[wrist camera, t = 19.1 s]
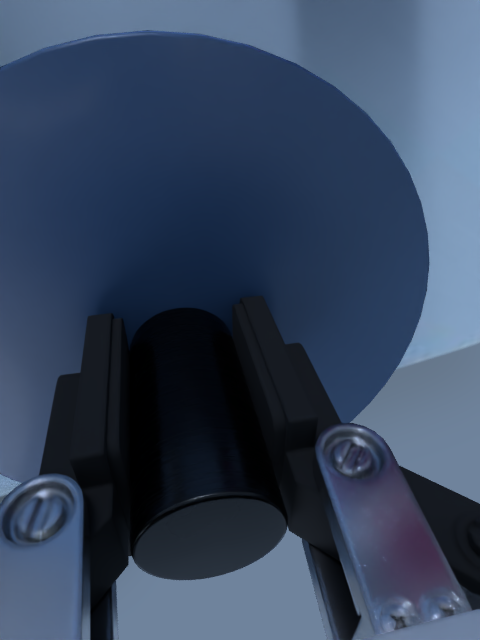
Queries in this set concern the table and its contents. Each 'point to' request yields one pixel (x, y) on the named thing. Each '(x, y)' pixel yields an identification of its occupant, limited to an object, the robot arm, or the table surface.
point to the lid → (195, 264)
